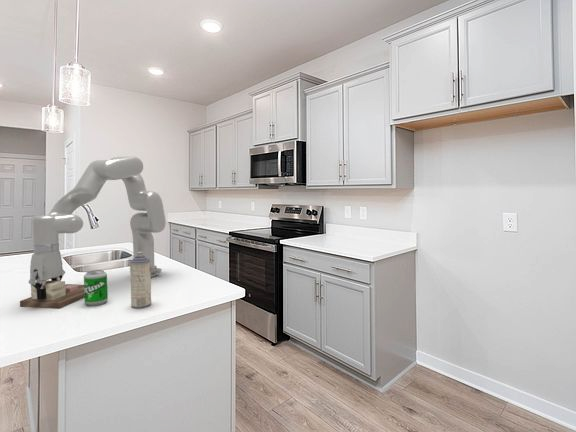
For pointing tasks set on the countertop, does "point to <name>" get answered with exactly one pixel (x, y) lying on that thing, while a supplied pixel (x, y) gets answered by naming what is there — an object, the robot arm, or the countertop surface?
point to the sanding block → (51, 291)
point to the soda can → (95, 287)
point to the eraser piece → (70, 288)
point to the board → (59, 303)
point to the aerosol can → (140, 281)
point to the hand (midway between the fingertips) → (48, 296)
